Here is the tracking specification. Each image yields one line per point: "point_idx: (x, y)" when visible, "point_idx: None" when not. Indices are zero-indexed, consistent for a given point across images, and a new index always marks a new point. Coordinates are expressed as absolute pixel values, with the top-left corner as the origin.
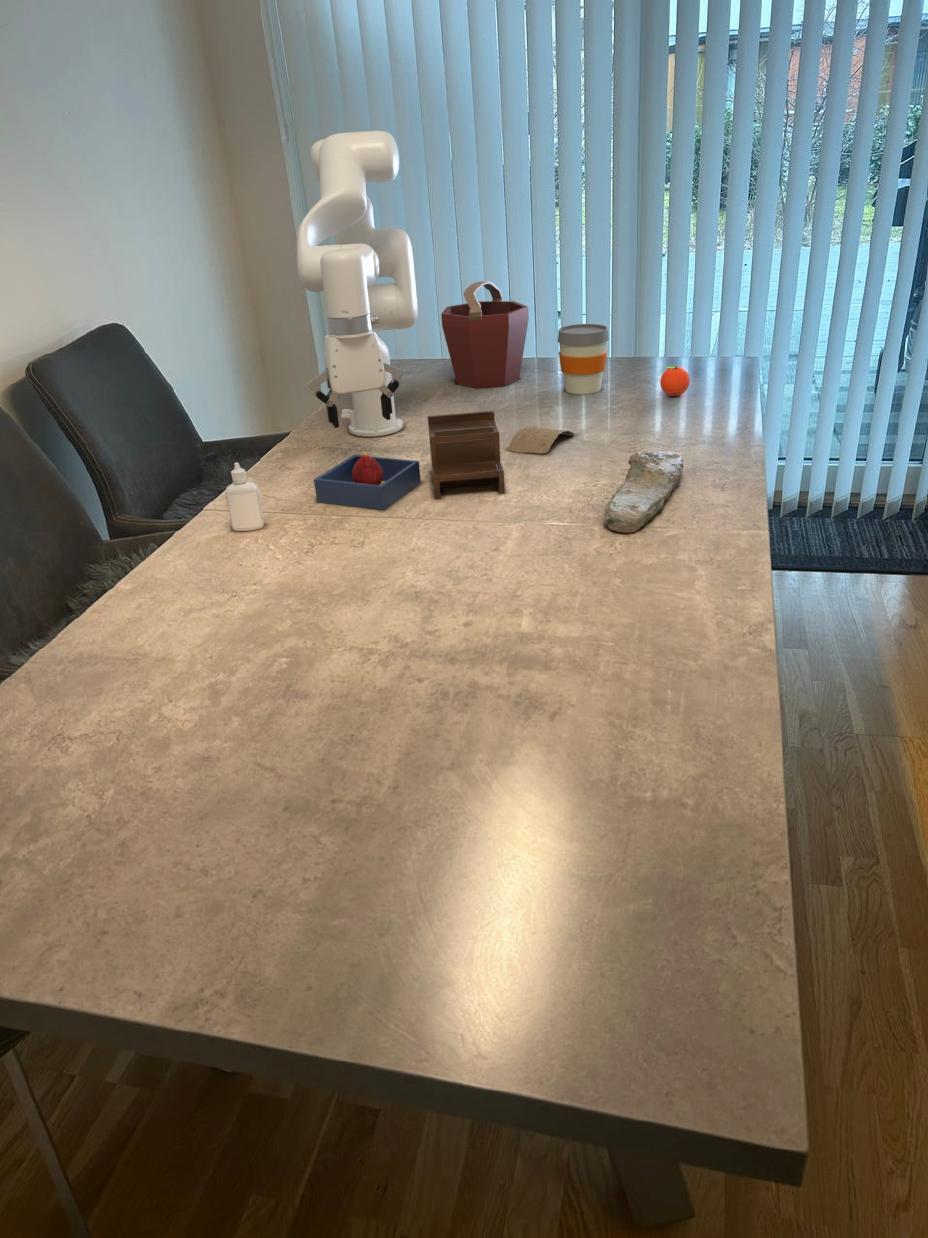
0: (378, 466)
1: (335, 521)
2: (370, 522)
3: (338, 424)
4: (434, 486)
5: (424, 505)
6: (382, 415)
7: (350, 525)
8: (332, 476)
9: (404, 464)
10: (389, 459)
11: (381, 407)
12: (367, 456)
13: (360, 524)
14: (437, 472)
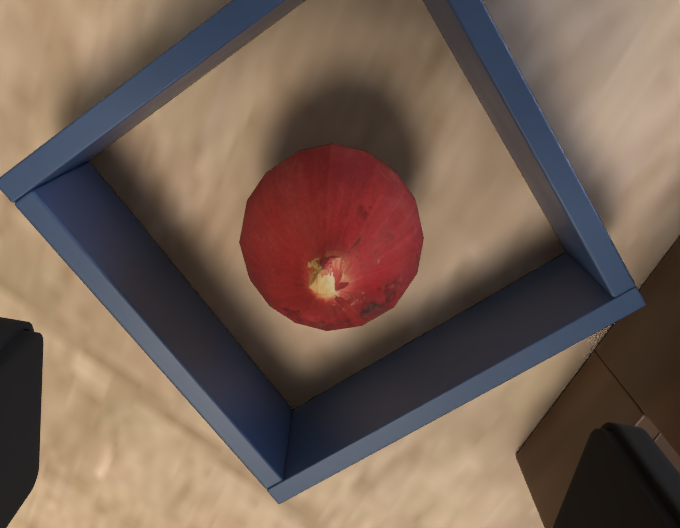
0: (381, 313)
1: (75, 408)
2: (193, 492)
3: (17, 498)
4: (531, 495)
5: (443, 478)
6: (595, 431)
7: (116, 473)
8: (150, 105)
9: (577, 243)
10: (539, 159)
11: (640, 489)
12: (334, 302)
13: (153, 486)
14: None
